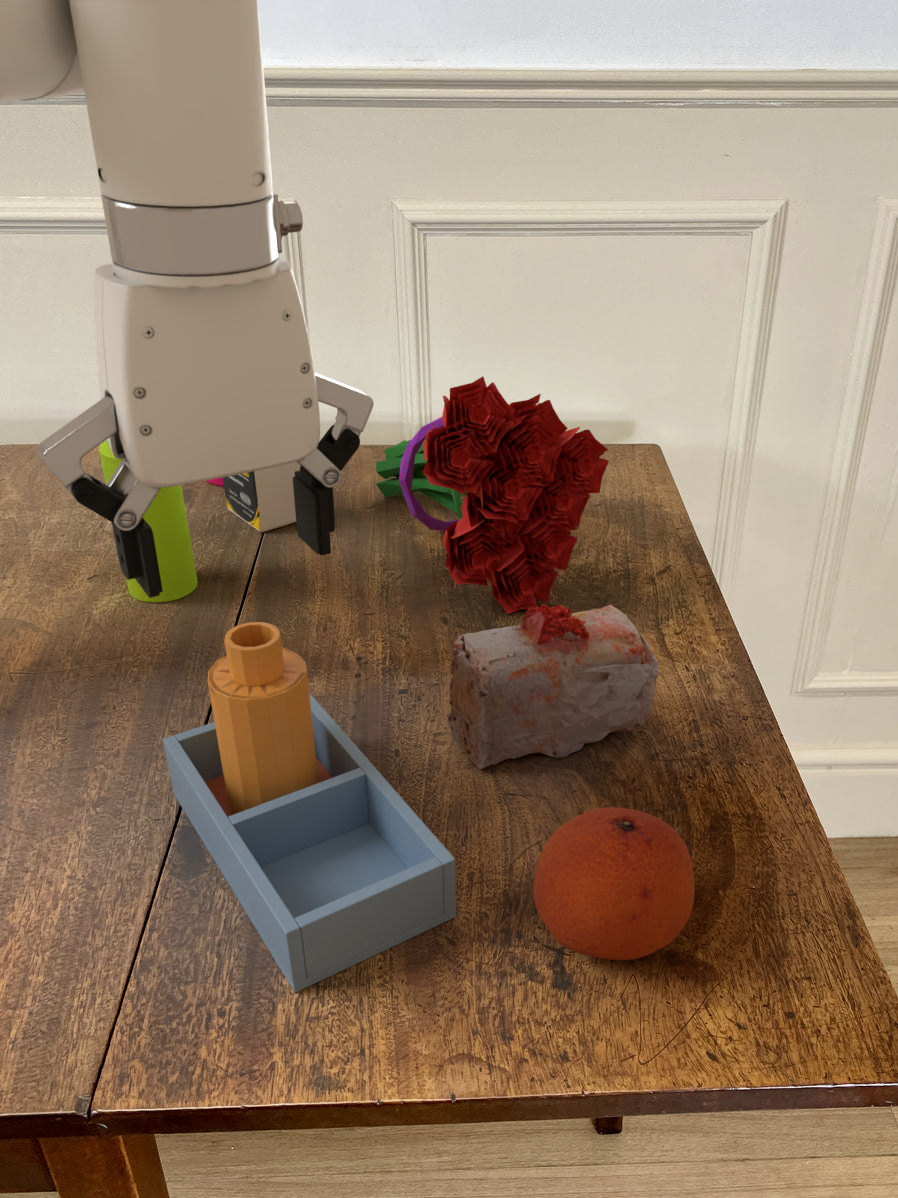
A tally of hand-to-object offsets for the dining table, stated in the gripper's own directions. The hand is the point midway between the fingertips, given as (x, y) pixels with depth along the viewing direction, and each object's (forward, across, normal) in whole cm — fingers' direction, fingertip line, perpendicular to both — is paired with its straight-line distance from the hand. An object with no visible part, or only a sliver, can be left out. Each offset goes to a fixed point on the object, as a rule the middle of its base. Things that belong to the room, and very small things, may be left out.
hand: (234, 564), depth 58 cm
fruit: (+18, -13, +20) cm, 30 cm away
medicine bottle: (+18, -19, -42) cm, 49 cm away
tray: (+18, -1, +5) cm, 18 cm away
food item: (+18, -21, +3) cm, 27 cm away
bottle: (+17, -1, +1) cm, 17 cm away
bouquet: (+18, -31, -27) cm, 44 cm away
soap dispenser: (+18, -5, -33) cm, 38 cm away
